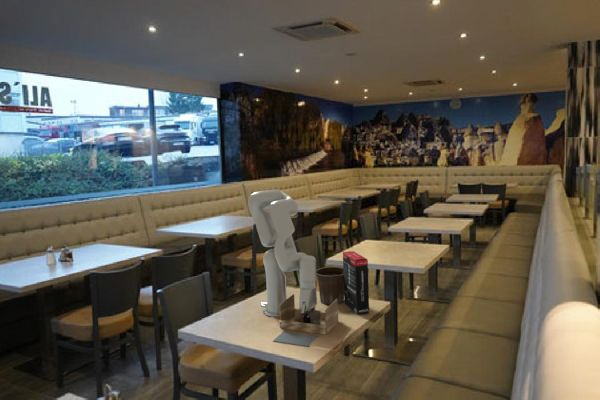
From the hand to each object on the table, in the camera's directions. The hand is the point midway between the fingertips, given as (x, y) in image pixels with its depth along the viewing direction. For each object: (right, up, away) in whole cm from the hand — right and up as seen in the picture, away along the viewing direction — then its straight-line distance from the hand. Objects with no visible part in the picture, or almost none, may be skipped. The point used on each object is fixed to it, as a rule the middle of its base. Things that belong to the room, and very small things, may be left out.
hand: (309, 322), depth 205 cm
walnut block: (-1, -1, 0) cm, 1 cm away
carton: (0, -1, 0) cm, 1 cm away
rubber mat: (-6, -3, -14) cm, 16 cm away
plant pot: (+12, +2, +31) cm, 33 cm away
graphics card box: (+23, +1, +18) cm, 30 cm away
